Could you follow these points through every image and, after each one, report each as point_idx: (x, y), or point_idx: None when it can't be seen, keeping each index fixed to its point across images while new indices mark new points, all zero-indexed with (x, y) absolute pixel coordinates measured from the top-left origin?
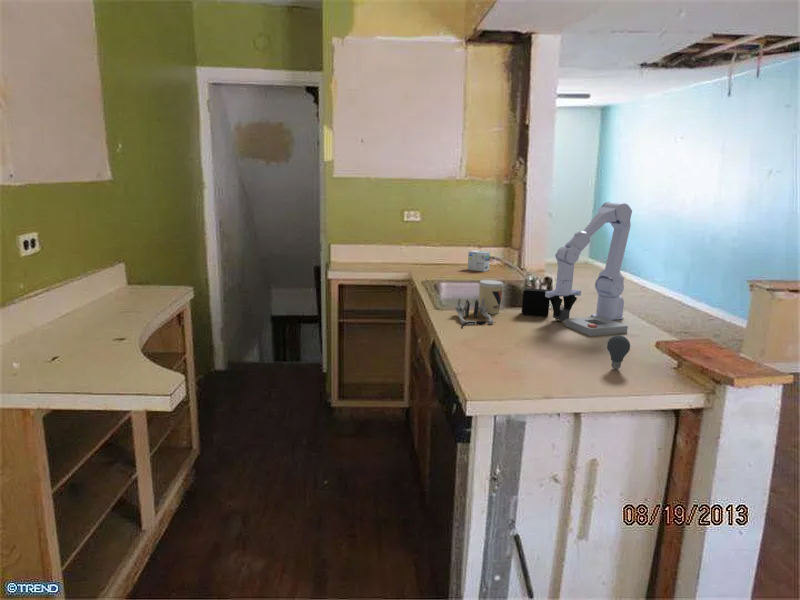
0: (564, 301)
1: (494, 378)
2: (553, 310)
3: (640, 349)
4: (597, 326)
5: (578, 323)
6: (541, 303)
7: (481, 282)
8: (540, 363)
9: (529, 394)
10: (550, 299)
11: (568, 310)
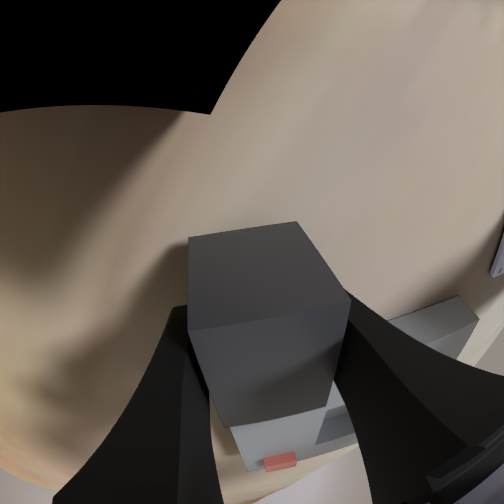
0: (400, 398)
1: (16, 471)
2: (160, 347)
3: (299, 470)
4: (302, 453)
5: (246, 446)
6: (24, 55)
7: None
8: (62, 478)
9: (56, 490)
10: (83, 493)
11: (306, 406)
